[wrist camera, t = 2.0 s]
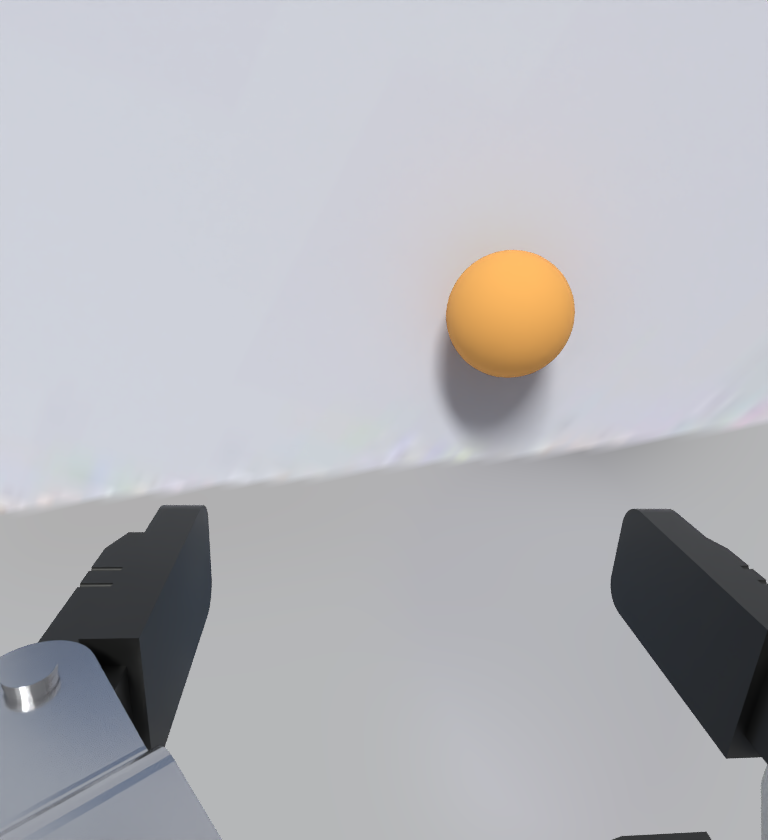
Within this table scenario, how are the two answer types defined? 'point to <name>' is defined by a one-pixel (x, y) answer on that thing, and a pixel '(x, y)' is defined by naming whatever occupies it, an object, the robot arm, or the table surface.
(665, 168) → the table surface
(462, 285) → the ball
